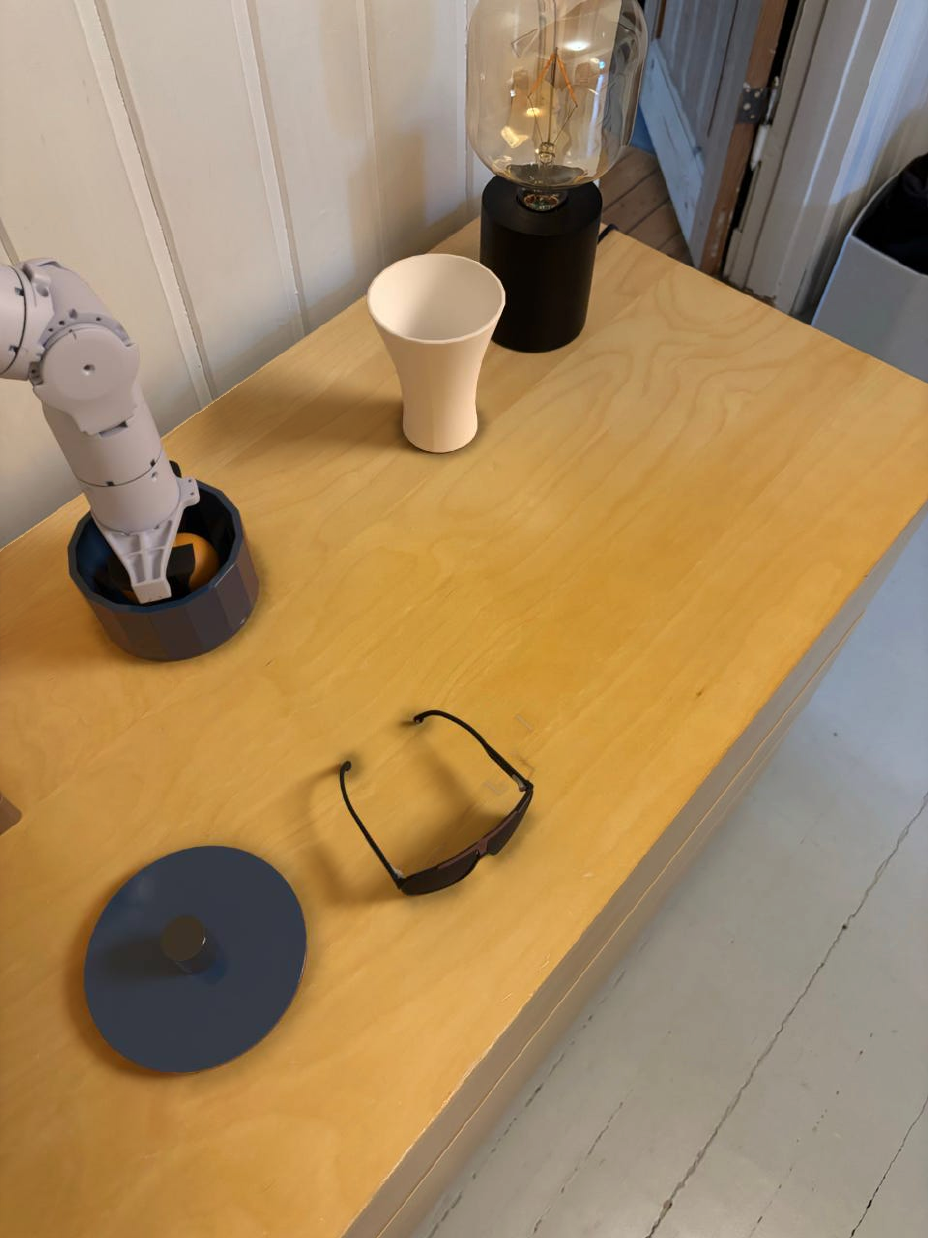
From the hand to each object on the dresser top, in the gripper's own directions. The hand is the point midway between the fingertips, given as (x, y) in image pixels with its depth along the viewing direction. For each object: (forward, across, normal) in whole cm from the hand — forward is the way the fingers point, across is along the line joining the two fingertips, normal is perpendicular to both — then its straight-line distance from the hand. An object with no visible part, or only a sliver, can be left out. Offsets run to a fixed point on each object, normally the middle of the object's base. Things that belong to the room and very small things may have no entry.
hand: (172, 579), depth 70 cm
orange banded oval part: (+1, 0, 0) cm, 1 cm away
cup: (+2, +12, -24) cm, 27 cm away
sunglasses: (+2, -22, -14) cm, 26 cm away
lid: (+1, -28, +2) cm, 28 cm away
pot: (+2, 0, 0) cm, 2 cm away
